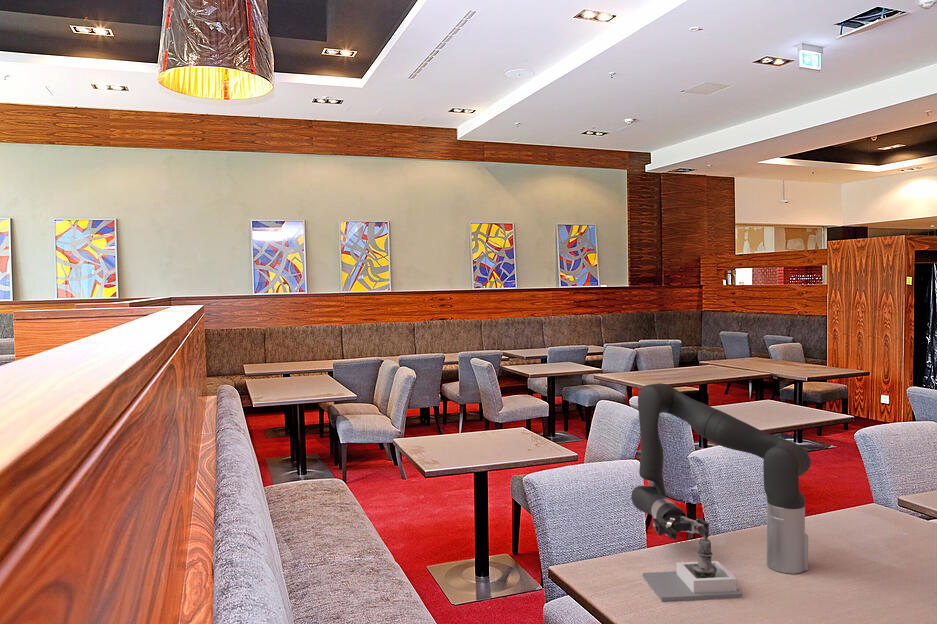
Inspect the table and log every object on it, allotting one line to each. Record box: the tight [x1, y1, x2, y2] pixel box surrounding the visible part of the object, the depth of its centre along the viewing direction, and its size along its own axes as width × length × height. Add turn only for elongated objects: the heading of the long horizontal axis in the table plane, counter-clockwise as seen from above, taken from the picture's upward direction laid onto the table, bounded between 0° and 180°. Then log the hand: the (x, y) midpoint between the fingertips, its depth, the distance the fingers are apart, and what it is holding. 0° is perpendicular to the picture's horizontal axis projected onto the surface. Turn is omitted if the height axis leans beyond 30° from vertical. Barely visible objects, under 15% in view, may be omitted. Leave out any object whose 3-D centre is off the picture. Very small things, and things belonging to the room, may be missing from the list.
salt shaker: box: [693, 535, 717, 579], centre depth 171 cm, size 6×6×12 cm
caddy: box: [642, 560, 743, 602], centre depth 171 cm, size 20×14×4 cm
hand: (691, 535), depth 180 cm, fingers open, 8 cm apart
